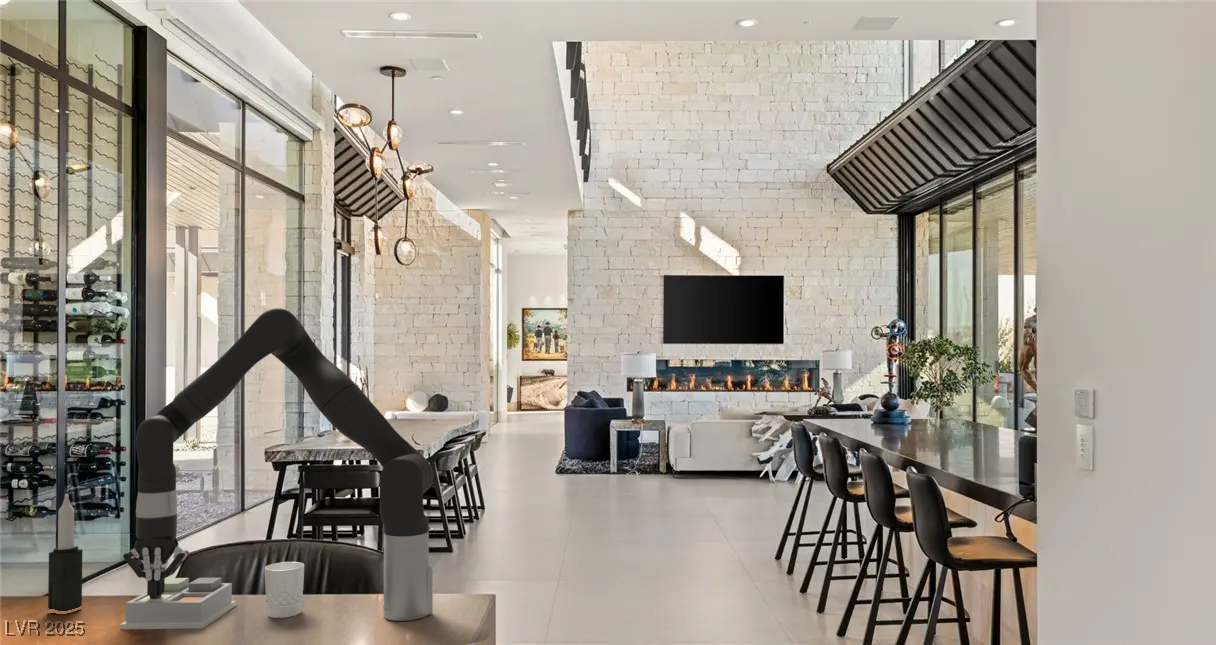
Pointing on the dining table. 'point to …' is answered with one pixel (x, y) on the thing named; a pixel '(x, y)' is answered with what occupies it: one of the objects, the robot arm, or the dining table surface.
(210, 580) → the key slate
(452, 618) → the dining table surface
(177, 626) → the keypad
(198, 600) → the key terracotta
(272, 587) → the white cup
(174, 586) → the key sage
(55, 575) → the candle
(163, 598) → the key cream
